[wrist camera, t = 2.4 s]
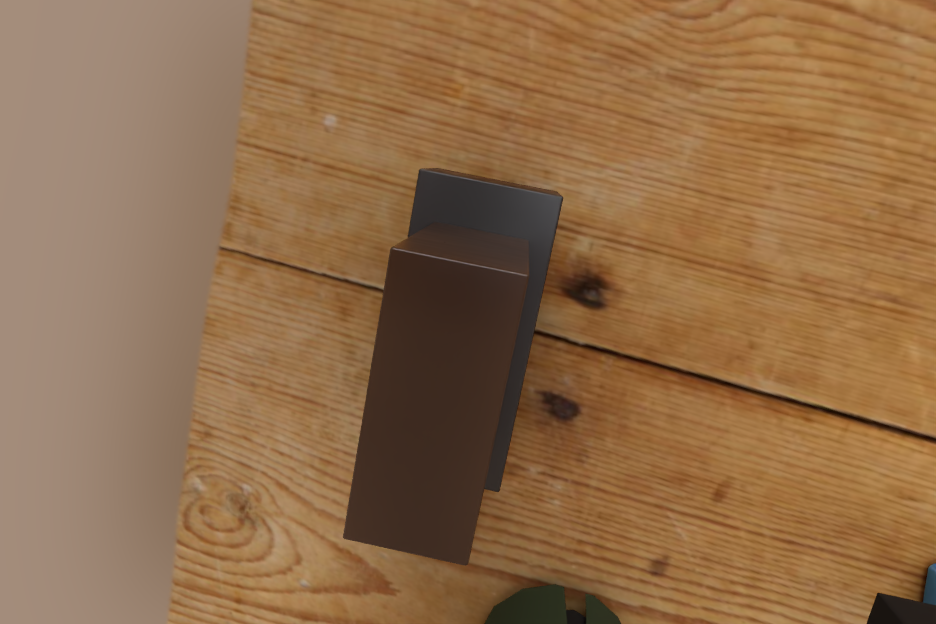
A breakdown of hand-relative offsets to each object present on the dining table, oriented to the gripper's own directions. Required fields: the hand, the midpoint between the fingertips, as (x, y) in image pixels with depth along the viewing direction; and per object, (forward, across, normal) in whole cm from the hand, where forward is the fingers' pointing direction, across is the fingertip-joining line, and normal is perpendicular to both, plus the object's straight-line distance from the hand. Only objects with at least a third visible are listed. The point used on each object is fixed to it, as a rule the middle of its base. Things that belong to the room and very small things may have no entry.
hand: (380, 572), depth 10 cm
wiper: (+17, 0, 0) cm, 17 cm away
